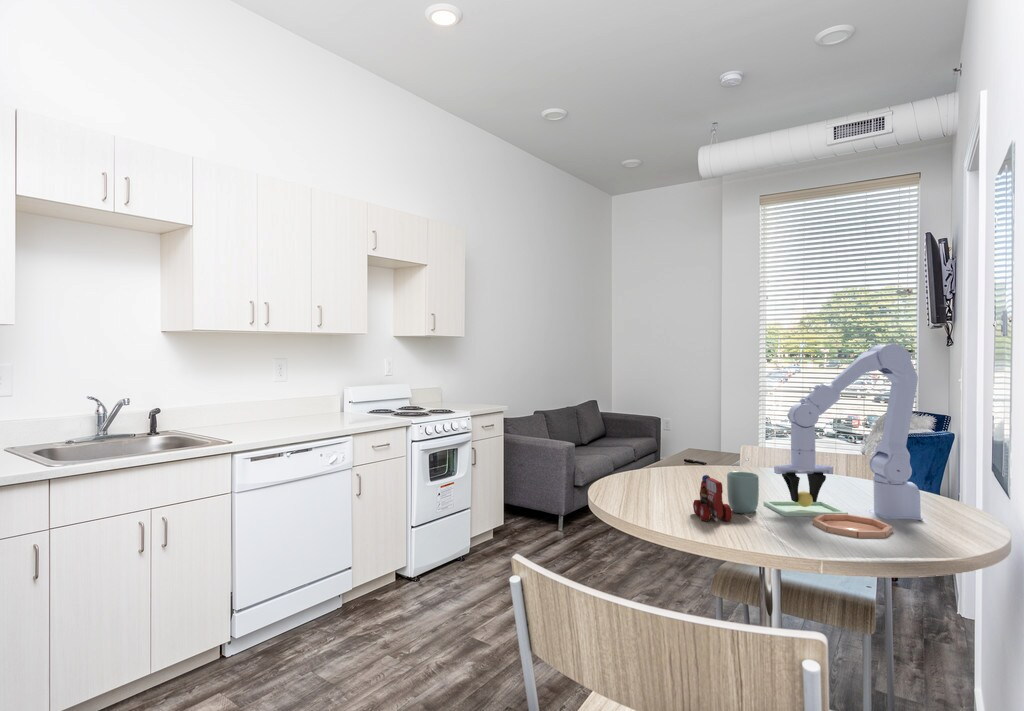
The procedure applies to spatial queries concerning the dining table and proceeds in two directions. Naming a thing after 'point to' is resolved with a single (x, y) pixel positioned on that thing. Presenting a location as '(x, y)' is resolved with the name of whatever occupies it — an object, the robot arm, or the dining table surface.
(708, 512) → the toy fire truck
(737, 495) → the cup
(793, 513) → the tray
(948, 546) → the dining table surface
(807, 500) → the ball
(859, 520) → the dish
